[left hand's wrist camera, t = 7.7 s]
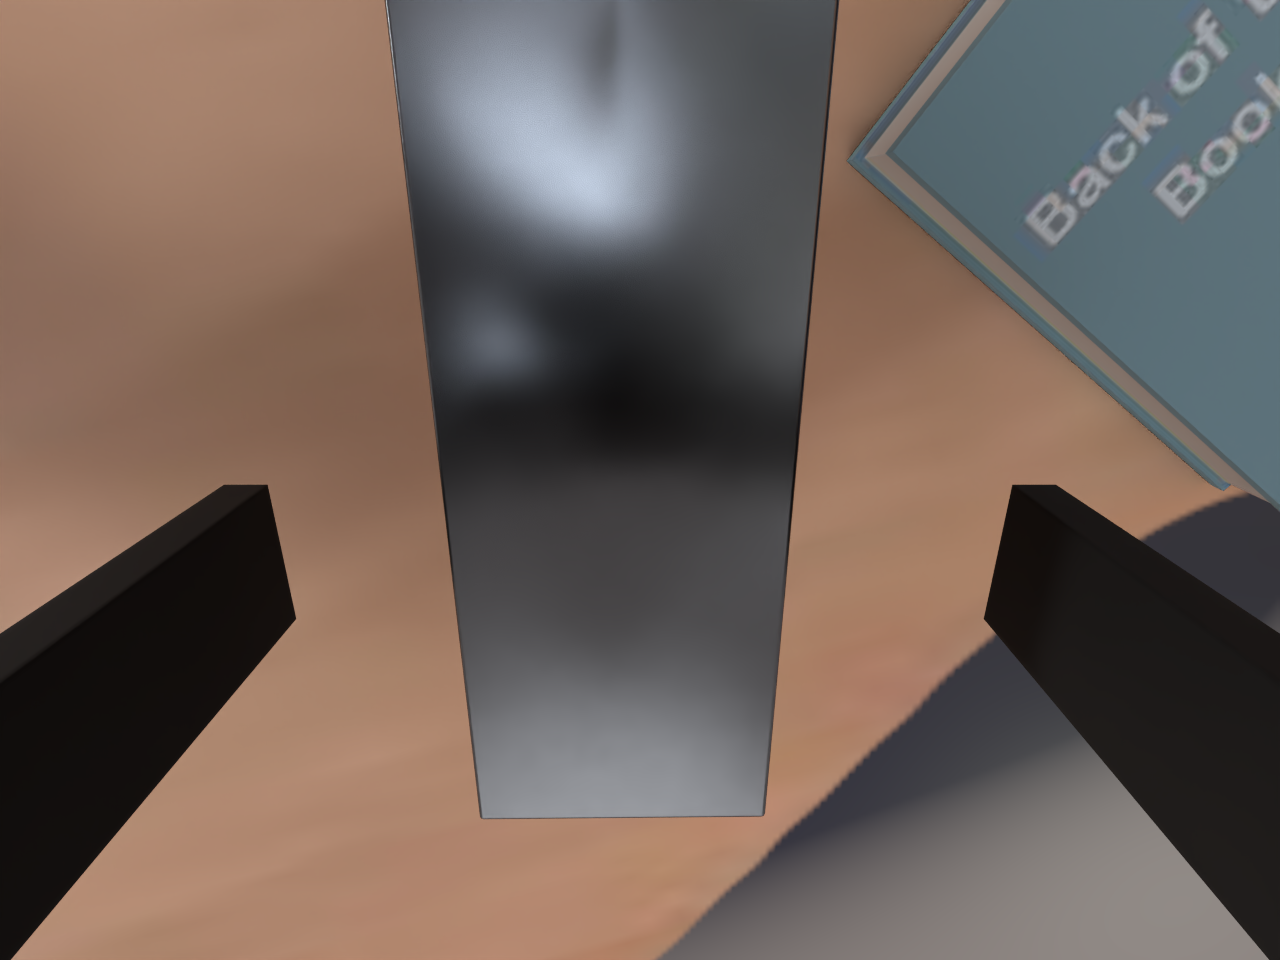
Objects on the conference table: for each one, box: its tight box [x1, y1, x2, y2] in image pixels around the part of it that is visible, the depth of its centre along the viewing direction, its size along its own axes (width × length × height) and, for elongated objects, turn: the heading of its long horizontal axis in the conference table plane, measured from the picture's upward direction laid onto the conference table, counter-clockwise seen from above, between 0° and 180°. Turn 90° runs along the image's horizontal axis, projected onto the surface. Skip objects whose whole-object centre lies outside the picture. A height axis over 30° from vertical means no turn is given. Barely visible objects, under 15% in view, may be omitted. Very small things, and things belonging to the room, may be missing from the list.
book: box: [847, 0, 1280, 511], centre depth 24 cm, size 23×16×5 cm
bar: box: [385, 0, 839, 819], centre depth 11 cm, size 24×5×8 cm, turn 0°
